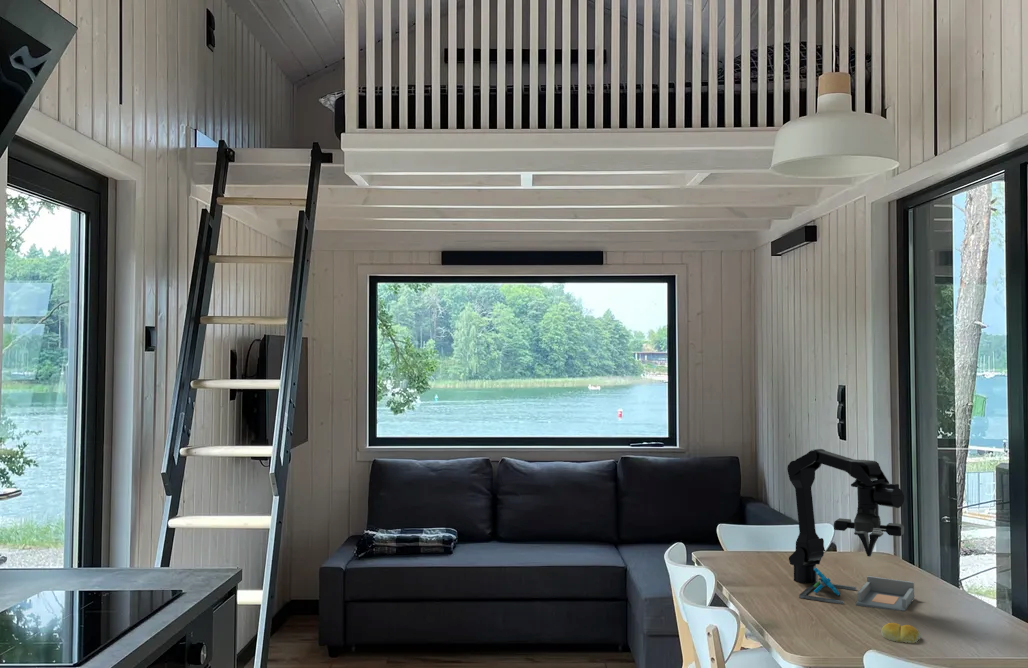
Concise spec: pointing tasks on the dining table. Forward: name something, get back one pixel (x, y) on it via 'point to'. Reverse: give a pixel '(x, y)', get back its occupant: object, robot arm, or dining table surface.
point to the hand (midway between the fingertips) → (869, 556)
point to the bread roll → (900, 633)
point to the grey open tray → (886, 594)
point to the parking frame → (805, 596)
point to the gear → (824, 582)
